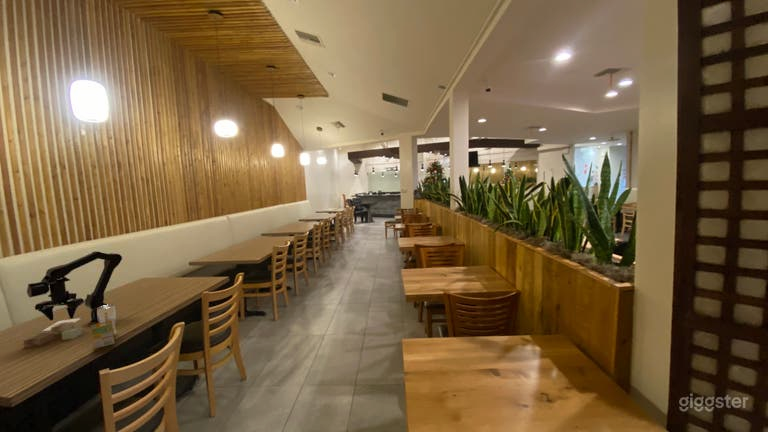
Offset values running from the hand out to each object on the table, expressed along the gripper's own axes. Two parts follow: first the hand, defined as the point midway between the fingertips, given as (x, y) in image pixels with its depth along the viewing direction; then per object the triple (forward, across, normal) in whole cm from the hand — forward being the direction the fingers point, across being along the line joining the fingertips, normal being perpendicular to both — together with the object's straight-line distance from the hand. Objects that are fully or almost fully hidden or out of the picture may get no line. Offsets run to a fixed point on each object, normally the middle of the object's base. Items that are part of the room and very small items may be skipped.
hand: (61, 319), depth 162 cm
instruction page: (+7, +8, -10) cm, 14 cm away
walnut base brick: (+7, 0, +13) cm, 15 cm away
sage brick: (+7, -11, +9) cm, 16 cm away
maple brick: (+7, 0, 0) cm, 7 cm away
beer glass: (+7, -29, +11) cm, 32 cm away
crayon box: (+7, -35, +23) cm, 42 cm away
